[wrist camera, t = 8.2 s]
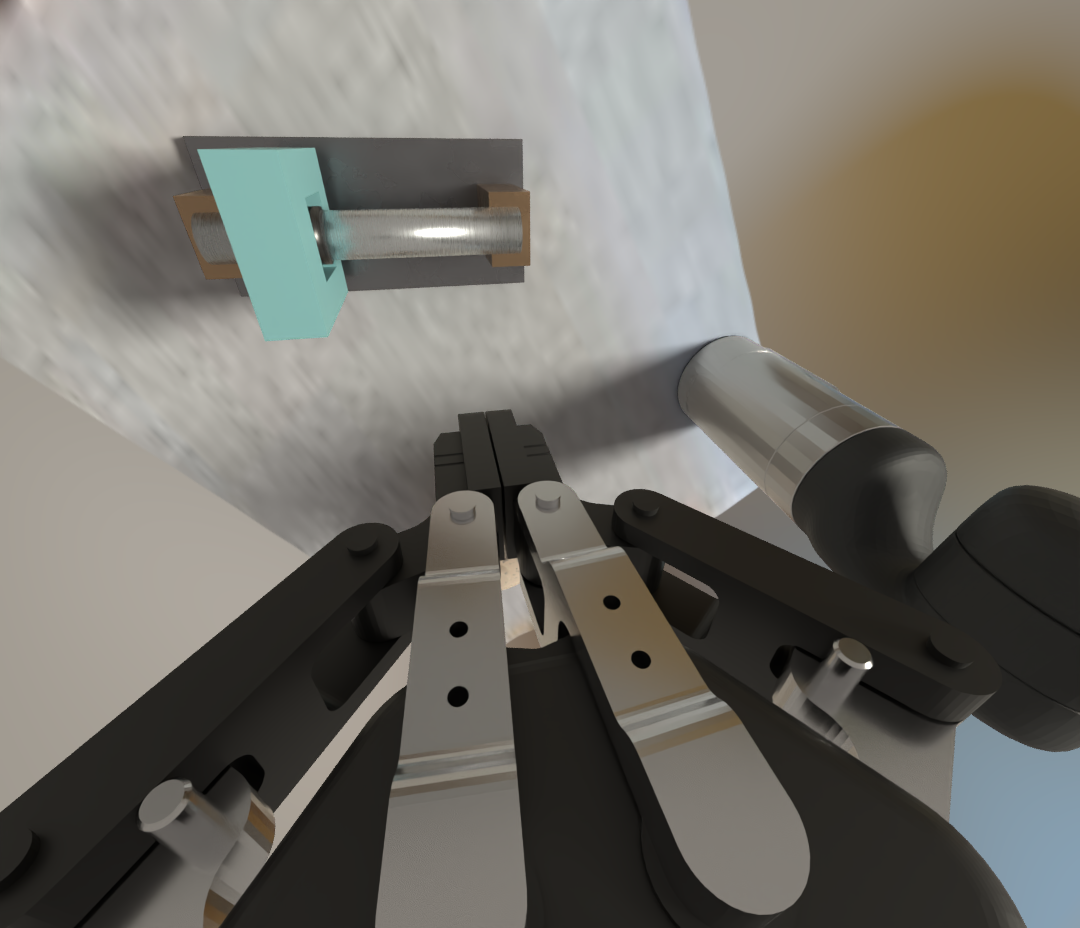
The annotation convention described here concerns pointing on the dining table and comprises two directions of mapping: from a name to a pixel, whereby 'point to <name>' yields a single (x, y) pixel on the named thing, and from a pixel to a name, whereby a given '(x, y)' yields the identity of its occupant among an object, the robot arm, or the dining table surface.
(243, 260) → the collar
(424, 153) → the pipe rig
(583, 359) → the dining table surface
